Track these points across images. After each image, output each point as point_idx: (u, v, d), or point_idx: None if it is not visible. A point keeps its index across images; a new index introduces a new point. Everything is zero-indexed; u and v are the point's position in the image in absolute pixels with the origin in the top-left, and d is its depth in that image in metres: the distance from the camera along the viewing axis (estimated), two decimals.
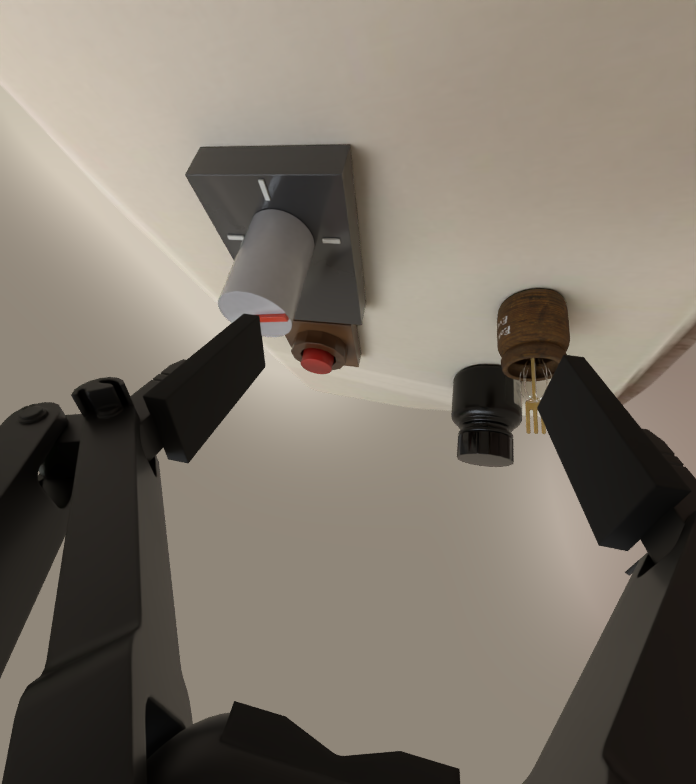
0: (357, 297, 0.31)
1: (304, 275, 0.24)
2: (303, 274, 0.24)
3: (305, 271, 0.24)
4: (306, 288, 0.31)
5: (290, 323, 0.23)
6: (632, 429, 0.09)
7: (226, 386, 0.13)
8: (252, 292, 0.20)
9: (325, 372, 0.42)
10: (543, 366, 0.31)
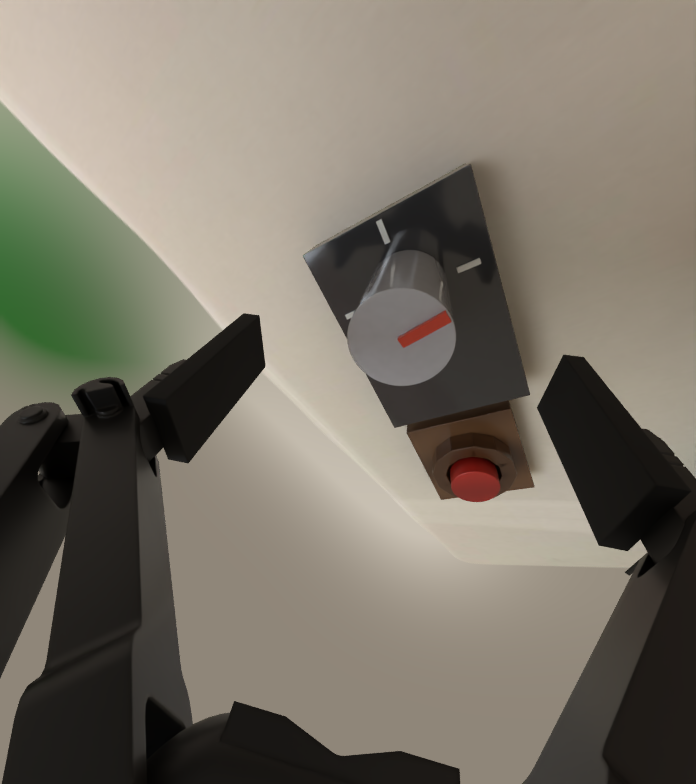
0: (516, 346, 0.22)
1: (449, 295, 0.18)
2: (448, 292, 0.18)
3: (449, 293, 0.18)
4: None
5: (454, 331, 0.15)
6: (632, 429, 0.09)
7: (226, 386, 0.13)
8: (395, 287, 0.14)
9: (491, 496, 0.28)
10: None
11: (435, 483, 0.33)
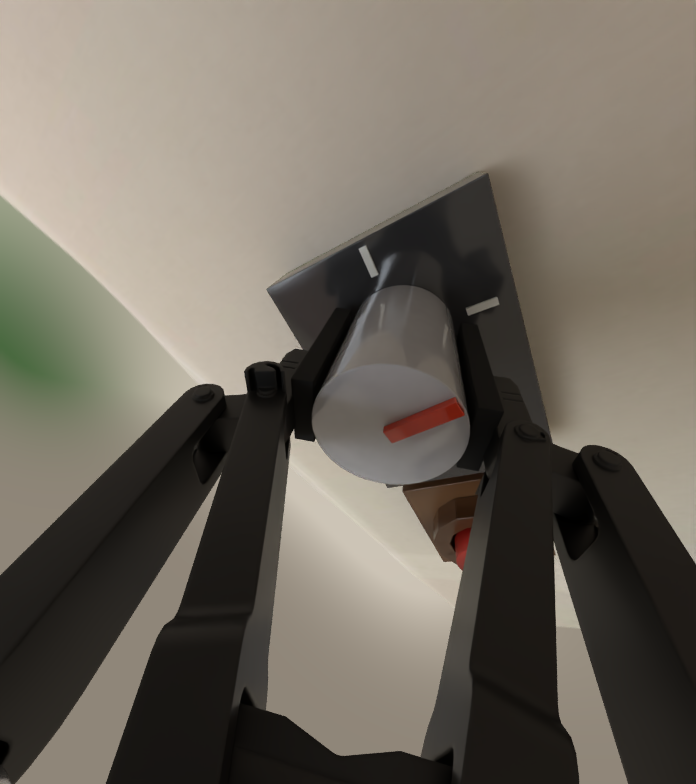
0: (541, 404, 0.17)
1: None
2: (456, 349, 0.13)
3: (457, 348, 0.13)
4: None
5: (468, 425, 0.10)
6: (484, 373, 0.11)
7: None
8: (378, 362, 0.09)
9: None
10: None
11: None
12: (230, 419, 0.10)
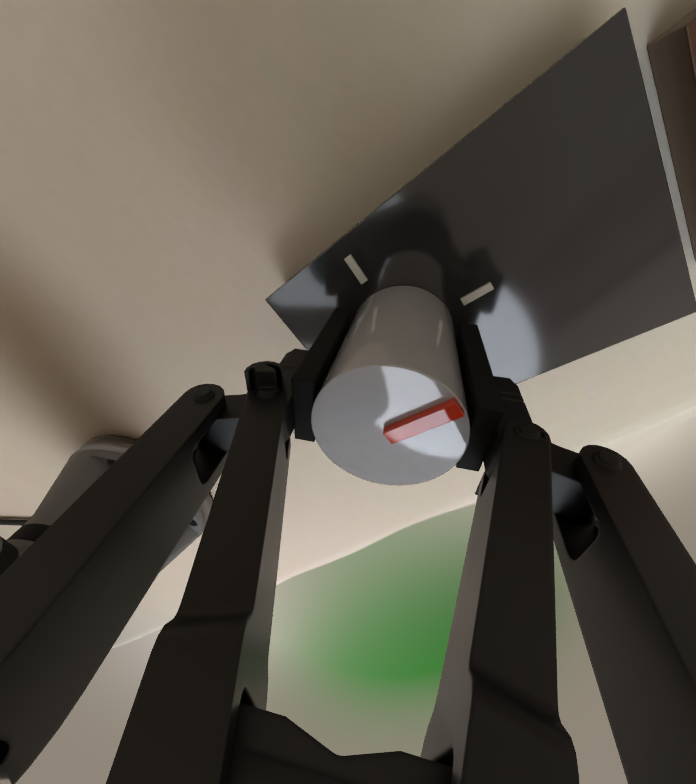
0: (478, 128, 0.12)
1: None
2: (456, 350, 0.13)
3: (457, 349, 0.13)
4: (507, 260, 0.14)
5: (468, 426, 0.10)
6: (484, 373, 0.11)
7: None
8: (377, 363, 0.09)
9: None
10: None
11: None
12: (230, 419, 0.10)
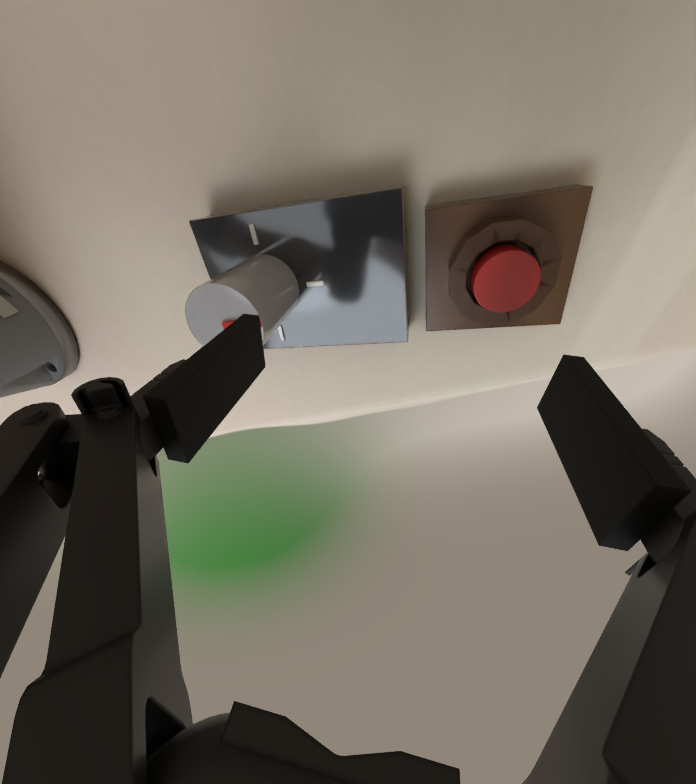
0: (335, 199, 0.22)
1: (285, 308, 0.23)
2: (284, 305, 0.23)
3: (287, 305, 0.24)
4: (334, 273, 0.25)
5: (262, 335, 0.20)
6: (632, 429, 0.09)
7: (226, 386, 0.13)
8: (229, 286, 0.19)
9: (532, 264, 0.20)
10: None
11: (523, 322, 0.25)
12: (62, 443, 0.09)
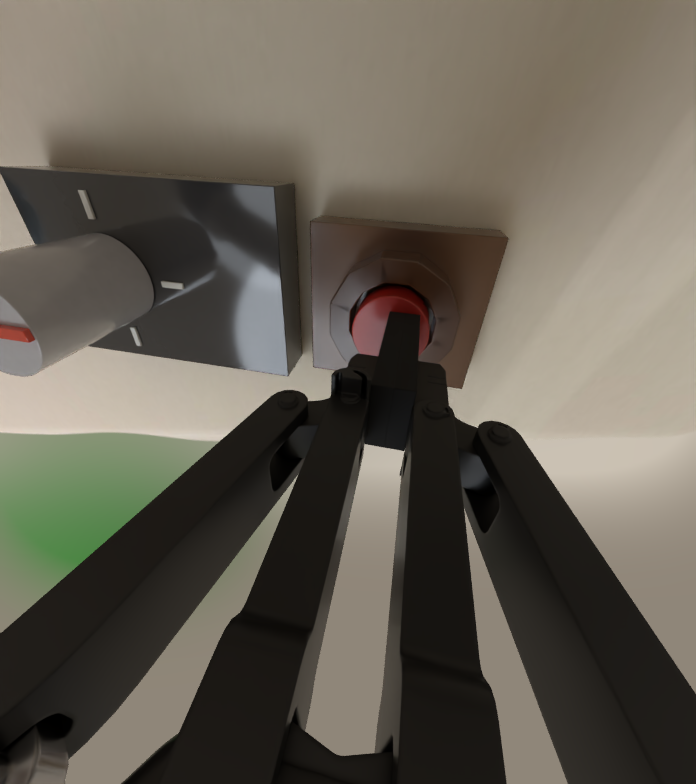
0: (191, 182, 0.16)
1: (112, 312, 0.17)
2: (109, 309, 0.17)
3: (116, 309, 0.18)
4: (195, 277, 0.19)
5: (40, 351, 0.14)
6: (410, 358, 0.12)
7: None
8: None
9: None
10: None
11: None
12: (315, 426, 0.10)
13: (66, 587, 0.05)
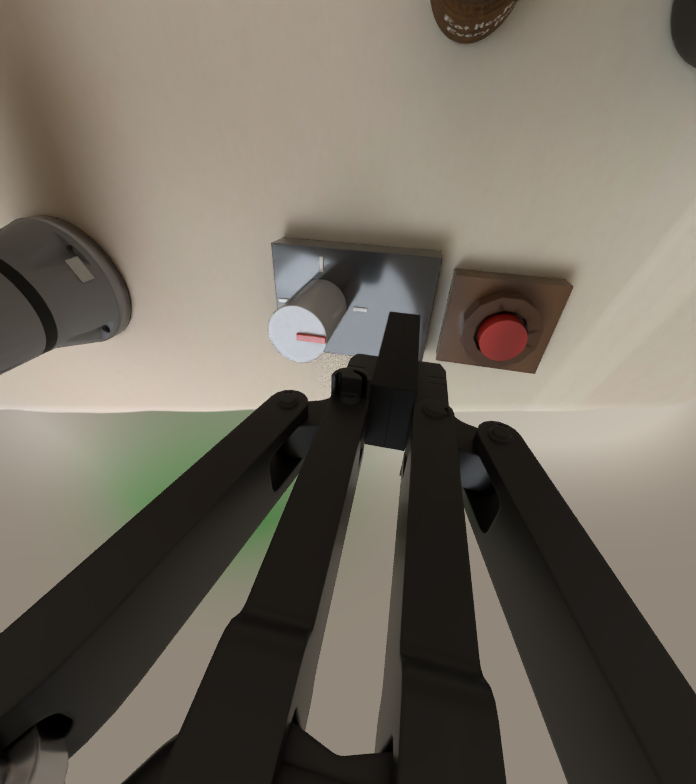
0: (391, 254, 0.29)
1: (337, 326, 0.30)
2: (337, 324, 0.30)
3: (338, 325, 0.31)
4: (376, 305, 0.32)
5: (324, 348, 0.27)
6: (410, 358, 0.12)
7: None
8: (310, 310, 0.26)
9: (523, 332, 0.28)
10: None
11: (508, 367, 0.33)
12: (315, 426, 0.10)
13: (66, 587, 0.05)
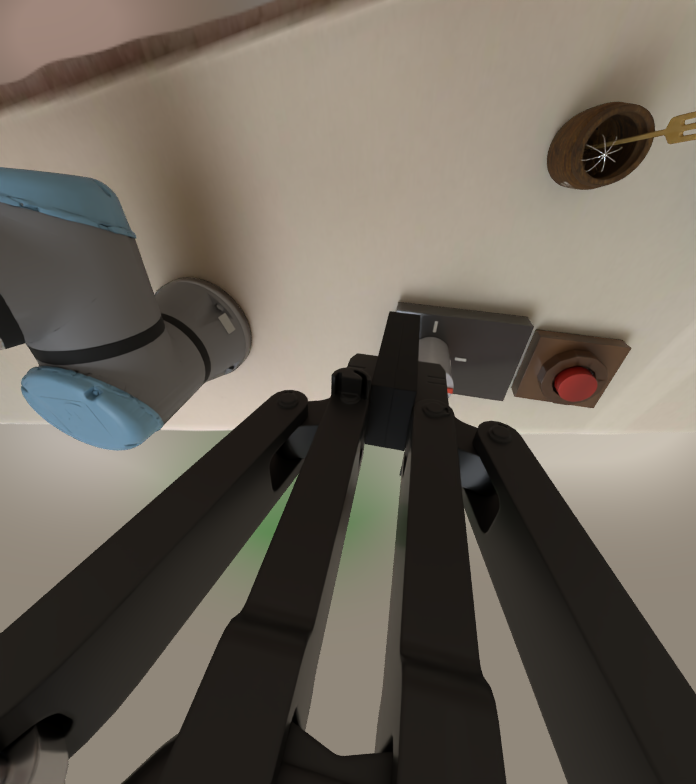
0: (494, 322, 0.38)
1: None
2: None
3: None
4: (474, 356, 0.41)
5: (449, 396, 0.36)
6: (410, 358, 0.12)
7: None
8: None
9: (594, 382, 0.37)
10: (638, 123, 0.25)
11: (573, 403, 0.43)
12: (315, 426, 0.10)
13: (66, 587, 0.05)
